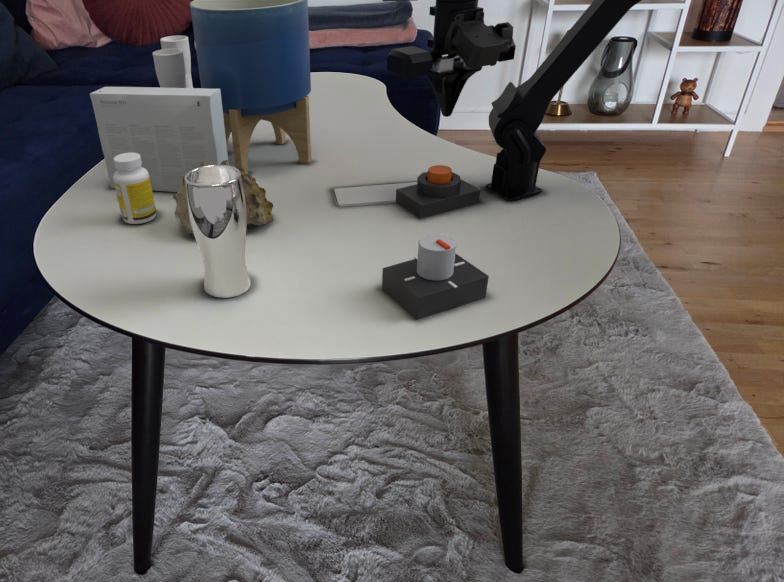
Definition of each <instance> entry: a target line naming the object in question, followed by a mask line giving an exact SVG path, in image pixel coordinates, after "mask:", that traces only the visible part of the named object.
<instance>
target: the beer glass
mask: <svg viewBox="0 0 784 582" xmlns="http://www.w3.org/2000/svg"><path fill="white" fill-rule="evenodd" d="M185 186H186V199H187V207H188V214H189V219H190V223H191V227H192V230H193V233H194V234H193V233H192V234H193V236H194V239H195V241H196V242H195V243H196V244H197V247H198V250H199V252H200V256H201V259H202V263H203V272H204V274H203V288H204V291H205V293H206V294H208V295H210V296H211V297H214V298H218V299H229V298H235V297H239V296H242V294H245V293H246V292H247V291H248V290H250V287H251V284H252V281H251V277H250V273H249V270H248V268H247V263H246V241H247V226H248V224H247V211H246V201H245V194H244V189H243V184H242V179H241V172H240V170H239V169H238V168H236V167H235V166H233V165H230V164H229V165H207V166H202V167H198V168H195V169H193V170H191V171H189V172H188V173H187V174H186V175H185Z"/></svg>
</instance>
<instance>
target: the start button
mask: <svg viewBox="0 0 784 582" xmlns="http://www.w3.org/2000/svg"><path fill="white" fill-rule="evenodd" d="M427 172H428V177H427V181H428V182H431V183H436V184H445V183H449V182H451V175H452V172H453V169H452V168H451V166H448V165H443V164H442V165H441V164H436V165H432V166H429V167H428V169H427Z"/></svg>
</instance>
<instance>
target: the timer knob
mask: <svg viewBox="0 0 784 582" xmlns="http://www.w3.org/2000/svg"><path fill="white" fill-rule="evenodd" d="M417 244H418V245H417V246H418V247H417V257H418V258H417V273H418V275H419V276H421V277H422V278H425V279H428V280H434V281H439V280H445V279H448V278H450V277H451V276H452V275H453V271H454V262H455V253H456V251H457V240H456V239H455V238H454V237H453V236H450V235H447V234H443V233H429V234H425V235H423V236H420V238H419V240H418V243H417ZM456 254H457V253H456Z"/></svg>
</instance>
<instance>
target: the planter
mask: <svg viewBox="0 0 784 582" xmlns="http://www.w3.org/2000/svg"><path fill="white" fill-rule="evenodd" d="M189 8H190V15H191V23H192V30H193V36H194V43H195V51H196V58H197V65H198V73H199V80H200V86H201V88H204V89H220V91H221V100H222V109H223V118H224V127H225V135H226V145H227V153H228V154H229V148H228V146H229V140H230V136H231V139H232V148H233V158H234V165H235V166H234V167H236V168H238V169H244V170H245V173H246V174H249V170H248V156H249V148H250V144H251V139H252V136H253V133H254V130H255V128H256V126H257V125H258V124H259V122H260V121H261V120H262V121H266V122H269V123H271V127H272V128H273V132H274V137H275V144H276V145H284V144H285V143H286V142H287V136H288V137H289V139H290V140H291V141H292V143H293V145H294V148H295V151H296V152H297V156H298V163H299V164H304V165H305V164H306V165H308V164H310V163H311V162H312V148H311V147H312V146H311V145H312V144H311V121H310V120H311V119H310V98H309V95H310V94H311V91H312V79H311V52H310V51H311V50H310V49H311V48H310V28H309V27H310V25H309V24H310V23H309V22H310V21H309V0H192V1H190V3H189ZM286 135H287V136H286Z"/></svg>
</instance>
